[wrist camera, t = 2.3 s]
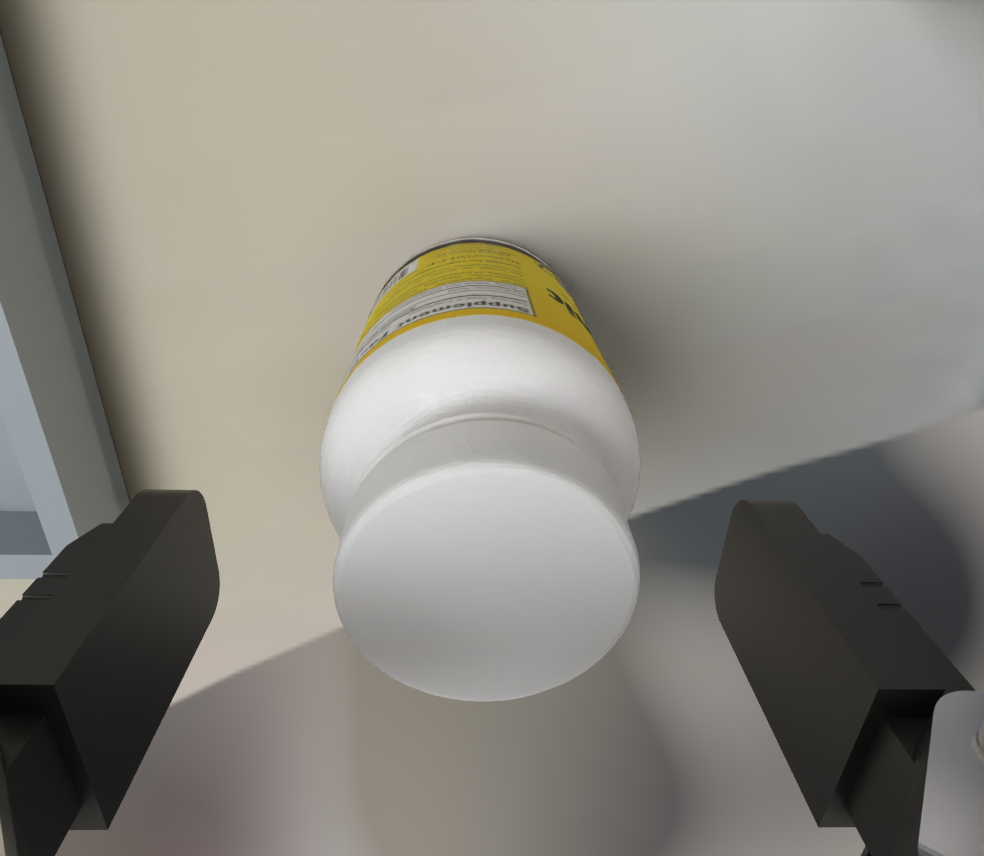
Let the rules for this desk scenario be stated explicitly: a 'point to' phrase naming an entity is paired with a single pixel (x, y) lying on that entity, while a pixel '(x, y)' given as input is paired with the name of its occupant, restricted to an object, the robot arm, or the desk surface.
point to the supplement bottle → (481, 480)
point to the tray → (43, 377)
